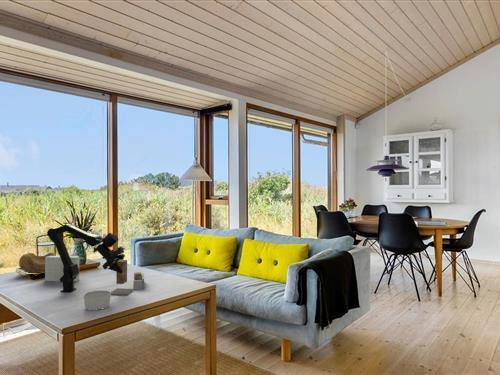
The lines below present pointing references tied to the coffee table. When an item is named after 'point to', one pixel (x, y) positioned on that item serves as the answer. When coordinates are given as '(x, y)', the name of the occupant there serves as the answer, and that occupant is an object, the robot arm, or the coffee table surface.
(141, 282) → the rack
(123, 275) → the brown wooden block
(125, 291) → the charcoal mat
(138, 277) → the upper oak offcut
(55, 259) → the skincare box
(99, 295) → the ramekin
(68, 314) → the coffee table surface
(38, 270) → the rough brown rock
